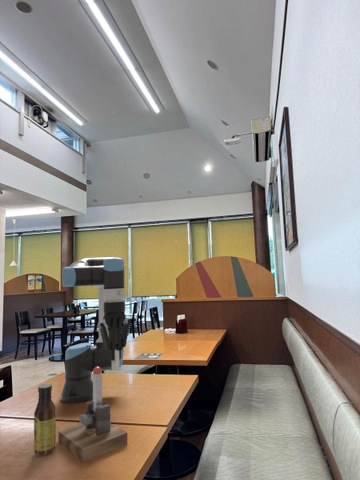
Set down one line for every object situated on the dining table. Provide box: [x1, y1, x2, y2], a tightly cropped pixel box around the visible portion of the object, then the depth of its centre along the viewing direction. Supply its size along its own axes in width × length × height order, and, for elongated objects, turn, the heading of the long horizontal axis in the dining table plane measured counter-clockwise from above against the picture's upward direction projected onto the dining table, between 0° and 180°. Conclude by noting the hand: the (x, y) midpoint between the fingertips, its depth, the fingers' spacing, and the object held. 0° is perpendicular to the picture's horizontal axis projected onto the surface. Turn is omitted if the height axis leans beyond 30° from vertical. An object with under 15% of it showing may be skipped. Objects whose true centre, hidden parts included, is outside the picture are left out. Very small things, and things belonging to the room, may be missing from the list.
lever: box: [78, 367, 103, 425], centre depth 108 cm, size 4×7×16 cm, turn 132°
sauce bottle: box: [33, 383, 57, 457], centre depth 103 cm, size 7×6×20 cm
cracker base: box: [57, 400, 129, 464], centre depth 107 cm, size 18×15×12 cm
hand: (115, 369), depth 114 cm, fingers closed
